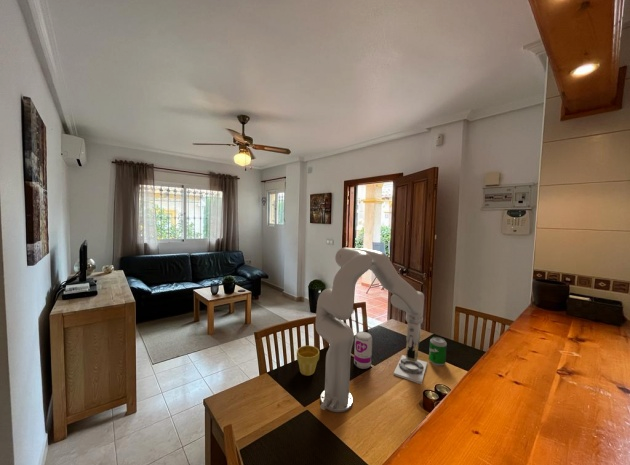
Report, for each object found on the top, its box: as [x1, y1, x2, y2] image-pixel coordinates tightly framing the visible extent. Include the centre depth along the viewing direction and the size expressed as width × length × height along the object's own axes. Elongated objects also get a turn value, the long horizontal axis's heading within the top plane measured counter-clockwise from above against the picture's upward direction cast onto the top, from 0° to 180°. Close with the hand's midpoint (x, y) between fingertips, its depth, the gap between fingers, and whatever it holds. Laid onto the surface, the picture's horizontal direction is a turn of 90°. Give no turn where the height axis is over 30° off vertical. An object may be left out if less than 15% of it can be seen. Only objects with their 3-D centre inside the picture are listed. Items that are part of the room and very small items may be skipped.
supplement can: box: [353, 331, 373, 370], centre depth 127 cm, size 8×8×15 cm
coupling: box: [405, 337, 421, 361], centre depth 124 cm, size 5×6×9 cm
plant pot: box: [296, 345, 320, 376], centre depth 121 cm, size 10×10×10 cm
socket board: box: [393, 354, 428, 385], centre depth 125 cm, size 18×12×2 cm, turn 150°
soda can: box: [428, 336, 448, 367], centre depth 131 cm, size 8×8×12 cm
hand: (411, 354), depth 124 cm, fingers closed on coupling, 5 cm apart
